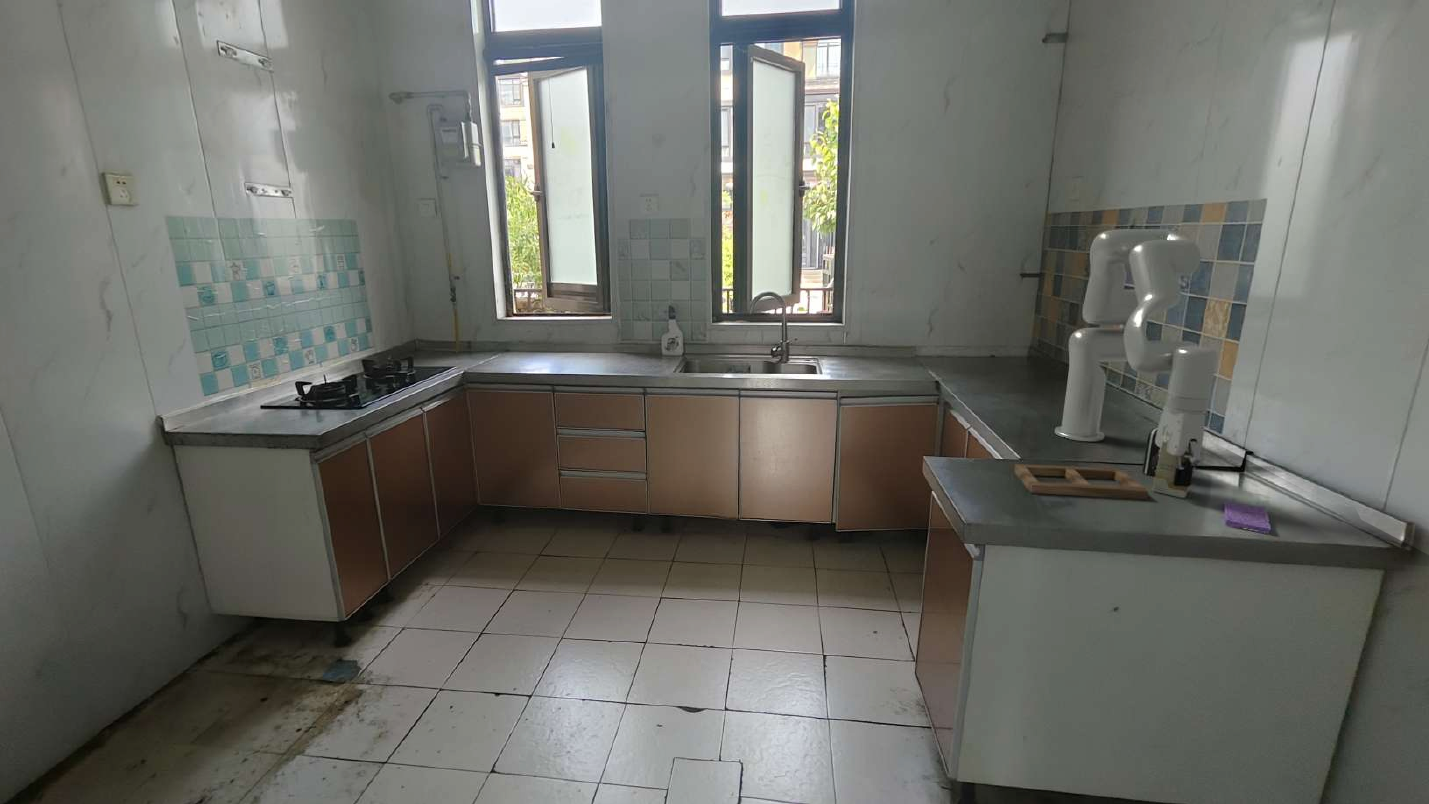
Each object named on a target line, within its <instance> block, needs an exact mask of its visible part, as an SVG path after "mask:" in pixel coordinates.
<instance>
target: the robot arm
mask: <svg viewBox="0 0 1429 804" xmlns="http://www.w3.org/2000/svg"><path fill="white" fill-rule="evenodd" d="M1201 262H1202V254H1201V250H1200V247H1199V246H1198V244H1197V243H1196V242H1195V241H1194V240H1192V239H1190V238H1188V237H1186V236H1184V235H1182V234H1179V233H1178V232H1175V231H1173V230H1169V229H1163V228H1162V229H1161V228H1160V229H1159V228H1150V229H1149V228H1148V229H1147V228H1144V229H1143V228H1142V229H1141V228H1140V229H1139V228H1125V229H1123V228H1122V229H1121V228H1120V229H1110V230H1106V231H1105V230H1104V231H1102V232H1100V233H1099V234H1097V236H1095V237H1094V239H1093V241H1092V243H1091V246H1090V249H1089V263H1090V265H1089V266H1090V274H1089V279H1088V283H1087V288H1086V292H1085V295H1084V296H1085V297H1084V300H1083V307H1082V318H1083V320H1084V322H1086V323H1088V324H1091V325H1103V326H1104V325H1108V326H1109V325H1113V326H1115V325H1117V326H1119V327H1085V328H1079V329H1077V330H1075V331H1074V332H1072V334H1071V335H1070V337H1069V339H1068V358H1069V359H1068V360H1069V361H1068V363H1069V364H1068V365H1069V366H1068V375H1067V383H1066V391H1065V398H1064V405H1063V414H1062V421H1061V426H1056V427H1055V429H1054V433H1055V434H1056V435H1057V436H1059V437H1061V438H1064V437H1065V438H1064V439H1067V438H1068V440H1071V441H1072V440H1073V441H1077V442H1099V441H1102V440H1104V439H1105V433H1104V432H1103V431H1100V426H1101V420H1102V419H1101V418H1102V412H1103V406H1104V399H1105V391H1106V384H1107V376H1106V373H1105V371H1104V369H1103V367H1101V364H1100V363H1106V362H1107V363H1108V362H1109V363H1111V362H1112V363H1113V362H1116V363H1120V362H1122V363H1123V362H1128V365H1129V367H1130V368H1131V369H1132V370H1133V371H1135V372H1136V373H1140V374H1149V375H1151V374H1155V375H1156V374H1157V375H1159V374H1160V375H1161V374H1165V375H1167V374H1168V375H1169V379H1168V385H1167V391H1166V395H1165V396H1166V397H1165V402H1164V403H1165V404H1164V407H1163V409H1162V412H1161V415H1160V418H1159V421H1158V426H1157V427H1158V429H1157V434H1156V439H1155V443H1156V445H1157V446H1158V447H1159V452H1158V456H1159V455H1160V451H1161V446H1162V441H1163V440H1165V441H1167V445H1166V452H1168V453H1169V454H1171V455H1172V456H1175V457H1177V458H1178V468H1176V470H1175V475H1174V481H1173V485H1174V486H1184V487H1188V488H1189V487H1191V483H1192V478H1193V472H1194V471H1195V469H1196V467H1197V466H1198V464H1199V463H1200V462H1201V461H1202V456H1201V451H1202V446H1203V442H1204V435H1205V434H1204V432H1205V421H1206V420H1205V419H1206V413H1207V412H1208V407H1209V402H1210V397H1211V391H1212V387H1213V381H1214V377H1215V376H1214V375H1215V371H1216V366H1217V360H1218V354H1217V351H1216V350H1214V349H1213V348H1210V347H1205V346H1200V345H1199V344H1197V343H1195V342H1193V341H1189V340H1148V337H1147V332H1146V327H1147V325H1148V321H1149V318H1150V317H1151V316H1153V315H1156V314H1159V313H1162V312H1165V311H1168V310H1169V309H1171V308H1173V307H1175V306H1177V305H1178V304H1179V303H1180V302H1181V300H1182V291H1181V287H1180V284H1179V279H1178V276H1181V277H1185V276H1190V275H1192V274H1193V273H1195V272H1196V271H1197V270H1198V269H1199V267H1200V264H1201ZM1124 264H1129V267H1130V272H1131V276H1132V283H1133V286H1134V289H1125V285H1126V281H1127V277H1128V274H1127V270H1126V268H1125V266H1124ZM1189 452H1190V455H1183V454H1184V453H1189ZM1183 458H1187V459H1189V460H1187V461H1185V462H1183ZM1158 460H1159V458H1158ZM1157 465H1158V464H1157ZM1156 470H1157V469H1156Z"/></svg>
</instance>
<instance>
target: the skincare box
mask: <svg viewBox="0 0 1429 804" xmlns="http://www.w3.org/2000/svg"><path fill="white" fill-rule="evenodd" d="M1166 445H1167V441H1165V440H1163V441H1162V446H1161V451H1160V455H1159V460H1158V465H1157V470H1156V475H1154V481H1153V484H1152V489H1151V491H1152V492H1155V493H1160V494H1164V495H1168V496H1173V497H1176V498H1182V499H1185V497H1186V496H1187V494H1188V491H1189V487H1184V486H1174V485H1173V481H1174V475H1175V470H1176V468H1178V458H1177V457H1175V456H1172V455H1171V454H1169V453H1168V452H1166ZM1183 455H1190V452H1189V453H1184V454H1183ZM1187 460H1189V459H1187V458H1183V462H1185V461H1187Z"/></svg>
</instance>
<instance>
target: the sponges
mask: <svg viewBox="0 0 1429 804" xmlns="http://www.w3.org/2000/svg"><path fill="white" fill-rule="evenodd" d="M1223 502H1224V503H1223V518H1224V519H1223V524H1224V523H1225V525H1228V526H1227V527H1229V526H1232V527H1231V528H1234V527H1239V528H1247V529H1253V530H1258V531H1262V532H1266V533H1269V532H1270V531H1271V529H1272V528H1271V524H1270V519H1269V515H1268V510H1267V507H1263V506H1258V505H1257V506H1255V505H1251V504H1242V503H1237V502H1232V501H1229V500H1227V501H1226V500H1224V501H1223ZM1225 525H1224V526H1225ZM1239 528H1238V529H1239ZM1269 534H1270V533H1269Z"/></svg>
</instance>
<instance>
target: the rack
mask: <svg viewBox="0 0 1429 804" xmlns="http://www.w3.org/2000/svg"><path fill="white" fill-rule="evenodd" d="M1013 472H1014V474H1015V475H1016V476H1017V477H1018V479H1019V480H1020V481H1021V482H1022V484H1023V485H1024V486H1025V488H1026V489H1027V490H1028V491H1029V493H1030V494H1044V495H1060V496H1061V495H1063V496H1064V495H1065V496H1081V497H1098V498H1099V497H1102V498H1113V499H1114V498H1117V499H1133V500H1136V499H1137V500H1147V499H1148V494H1149V490H1148V489H1147V488H1145V487H1144V486H1142V485H1141V484H1140V483H1139V482H1138V481H1136V480H1135V478H1133V477H1131V476H1130V475H1128V474H1127V473H1126V472H1125V471H1123V469H1121V468H1112V467H1111V468H1107V467H1089V466H1087V467H1086V466H1071V465H1070V466H1068V465H1048V464H1047V465H1045V464H1027V463H1025V464H1024V463H1014V464H1013ZM1035 476H1041V477H1044V476H1045V477H1063V478H1065V479H1066V480H1067V481H1068V482H1069V483H1067V482H1066V483H1064V482H1063V483H1061V482H1045V481H1038V480H1037V479H1036V477H1035ZM1086 479H1103V480H1114V481H1115V482H1116V483H1117V484H1119V485H1104V484H1103V485H1102V484H1090V483H1089V482H1088V481H1087V480H1086Z"/></svg>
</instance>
